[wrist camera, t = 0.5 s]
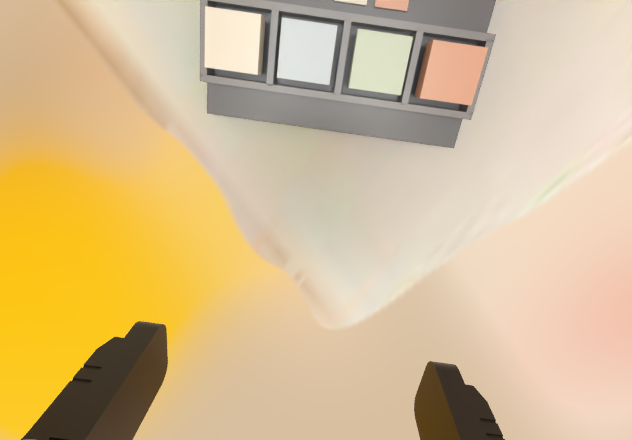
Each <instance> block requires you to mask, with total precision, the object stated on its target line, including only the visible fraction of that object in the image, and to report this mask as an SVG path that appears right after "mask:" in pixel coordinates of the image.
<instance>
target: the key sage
mask: <svg viewBox="0 0 632 440" xmlns="http://www.w3.org/2000/svg"><path fill="white" fill-rule="evenodd" d="M412 40H413V37H412V36H405V35H399V34H392V33H385V32H378V31H371V30H365V29H357V31H356V36H355V42H354V48H353V55H352V61H351V67H350V74H349V80H348V88H353V89H360V90H367V91H374V92H381V93H388V94H395V95H401V92H402V87H403V82H404V78H405V73H406V68H407V64H408V59H409V54H410V49H411V45H412Z"/></svg>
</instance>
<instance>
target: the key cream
mask: <svg viewBox="0 0 632 440" xmlns="http://www.w3.org/2000/svg"><path fill="white" fill-rule="evenodd" d="M265 22H266V18H265V17H264V16H263V15H261V14H256V13H249V12H242V11H235V10H228V9H221V8H215V7H208V6H205V67H207V68H214V69H221V70H227V71H234V72H241V73H248V74H255V75H262V66H263V51H264V37H265Z"/></svg>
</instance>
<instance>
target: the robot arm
mask: <svg viewBox="0 0 632 440" xmlns="http://www.w3.org/2000/svg"><path fill="white" fill-rule="evenodd" d="M167 359H168V357H167V334H166V326H165V325H163V324H155V323H149V322H141V321H139V322H137V323H135V325H134V326H133V327H132V328H131V330H130V331H129V332H128V334H127V335H126V336H125V338H119V337H114V338H112V339H111V340H109V341H108V342H107V343H105V344H104V345H102V346H101V347H99V348H98V349H96V351H95V352H94V353H93V354H92V355H91V357H90V358H89V359H88V360H87V361H86V363H85V364H84V367H83V368H81V369H80V370H79V371H78V372H77V374H76V375H75V376H74V377H73V380H72V381H70V382H69V383H68V384H67V386H66V387H65V388H64V389H63V390H62V392H61V393H60V394H59V395H58V396H57V398H56V399H55V400H54V402H53V403H52V404H51V405H50V406H49V407H48V409H47V410H46V411H45V412H44V414H43V415H42V416H41V417H40V418H39V419H38V421H37V422H36V423H35V424H34V425H33V427H32V428H31V429H30V430H29V431H28V433H27V434H26V435H25V436H24V437H23V438H22V439H21V440H132V439H133V437H134V436H135V434H136V432H137V430H138V428H139V426H140V424H141V422H142V421H143V419H144V417H145V415H146V413H147V411H148V409H149V407H150V406H151V404H152V402H153V400H154V398H155V396H156V394H157V392H158V390H159V388H160V387H161V385H162V383H163V380H164V377H165V374H166V370H167V364H168V360H167ZM414 405H415V407H414V411H415V419H416V423H417V427H418V431H419V436H420V440H505V439H503V437H502V436H503V435H502V433H501V431H500V428H499V426H498V424H496V422H495V421H496V420H495V418H494V415H493V414H492V411H491V409H490V407H489V405H488V403H487V401H486V400H485V399H484V398H483V397H482V395H481V394H480V393H479V392H478V391H477V390H476V388H474V386H471V385H465V383H464V381H463V379H462V376H461V374H460V372H459V369H458V368H457V366H456V365H453V364H446V363H438V362H431V361H430V362H428V364H427V366H426V368H425V371H424V374H423V377H422V380H421V382H420V385H419V388H418V391H417V394H416V397H415V404H414Z"/></svg>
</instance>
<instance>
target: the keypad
mask: <svg viewBox="0 0 632 440" xmlns="http://www.w3.org/2000/svg"><path fill="white" fill-rule="evenodd" d="M495 1H496V0H200V81H203V82H208V86H207V113H209V114H216V115H223V116H230V117H237V118H244V119H251V120H258V121H265V122H272V123H279V124H287V125H294V126H301V127H308V128H315V129H322V130H329V131H336V132H343V133H350V134H357V135H364V136H371V137H379V138H386V139H393V140H400V141H407V142H414V143H421V144H428V145H435V146H442V147H449V148H454V146H455V142H456V139H457V135H458V132H459V128H460V125H461V121H462V119H469V120H471V118H472V114H473V111H474V107H475V104H476V100H477V97H478V94H479V90H480V87H481V83H482V80H483V77H484V73H485V70H486V66H487V63H488V60H489V56H490V53H491V49H492V46H493V42H494V39H495V36H496V34H489V33H487V30H488V26H489V23H490V19H491V16H492V12H493V8H494V5H495ZM205 6H208V7H215V8H221V9H228V10H235V11H242V12H249V13H256V14H261V15H263V16H264V17H265V18H266V22H265V37H264V51H263V66H262V75H255V74H248V73H241V72H234V71H227V70H221V69H214V68H207V67H205ZM282 17H283V18H290V19H296V20H303V21H310V22H317V23H324V24H330V25H337V33H336V40H335V48H334V55H333V62H332V69H331V77H330V84H329V85H325V84H318V83H311V82H304V81H297V80H290V79H283V78H277V70H278V58H279V46H280V34H281V22H282ZM357 29H365V30H371V31H378V32H385V33H392V34H399V35H405V36H412V37H413V40H412V45H411V49H410V54H409V59H408V64H407V68H406V73H405V78H404V82H403V87H402V92H401V95H395V94H388V93H381V92H374V91H367V90H360V89H353V88H348V80H349V74H350V67H351V61H352V55H353V48H354V42H355V36H356V31H357ZM431 40H439V41H446V42H453V43H460V44H467V45H474V46H480V47H487V48H488V51H487V54H486V57H485V61H484V64H483V68H482V71H481V75H480V78H479V82H478V85H477V89H476V92H475V95H474V99H473V102H472V106H471V105H464V104H457V103H450V102H443V101H436V100H429V99H422V98H417V97H414V96H415V91H416V87H417V83H418V78H419V74H420V69H421V65H422V61H423V56H424V52H425V47H426V43H427V42H428V41H431Z"/></svg>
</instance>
